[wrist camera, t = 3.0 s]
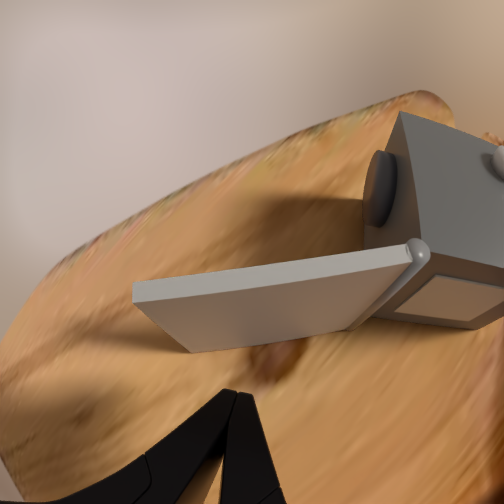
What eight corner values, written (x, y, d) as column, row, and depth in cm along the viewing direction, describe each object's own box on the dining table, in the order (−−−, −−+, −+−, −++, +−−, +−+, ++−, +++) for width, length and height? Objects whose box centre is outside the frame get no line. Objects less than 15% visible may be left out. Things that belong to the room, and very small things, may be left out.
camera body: (477, 331, 15) (569, 276, 8) (347, 315, 16) (414, 236, 9) (465, 223, 19) (525, 147, 11) (354, 197, 20) (390, 95, 12)
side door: (354, 307, 16) (420, 228, 9) (359, 329, 15) (434, 262, 8) (189, 333, 15) (132, 267, 8) (192, 355, 15) (132, 308, 8)
